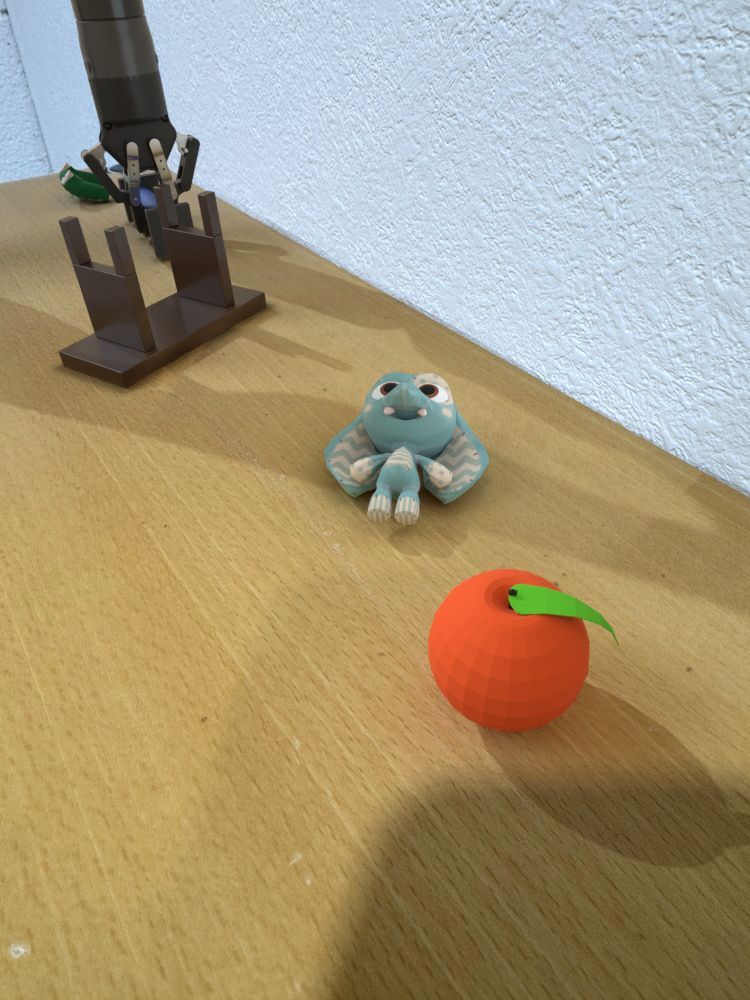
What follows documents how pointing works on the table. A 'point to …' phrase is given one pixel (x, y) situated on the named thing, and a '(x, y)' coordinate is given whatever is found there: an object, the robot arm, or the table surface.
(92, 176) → the green banana bunch
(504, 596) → the clementine
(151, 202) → the handle
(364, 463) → the stuffed animal
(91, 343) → the holder
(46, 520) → the table surface
